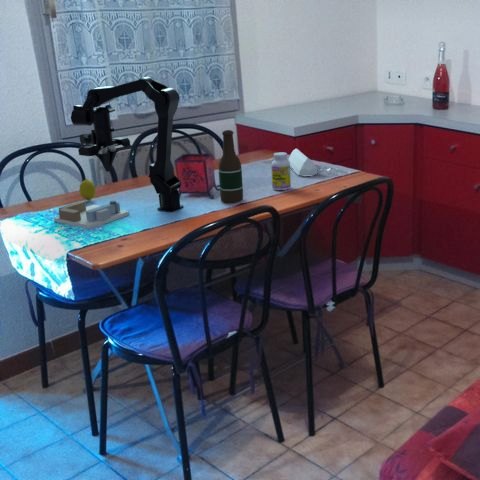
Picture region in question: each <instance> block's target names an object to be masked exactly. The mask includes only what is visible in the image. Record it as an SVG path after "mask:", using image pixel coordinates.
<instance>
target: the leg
mask: <svg viewBox="0 0 480 480" xmlns="http://www.w3.org/2000/svg"><path fill="white" fill-rule="evenodd" d="M99 206H100V207H97V208H94V209H91V210H88V211H86V217H87V220H88V221H94V220H96V213H95V212H96V211H99V210H102V209H109V212H110V215H112V214H115V213H118V212H120V210H121V205H120V202H119V201H116V200H111V201H110V202H109V203H107V204H103V205H99Z"/></svg>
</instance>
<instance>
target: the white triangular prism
mask: <svg viewBox="0 0 480 480" xmlns="http://www.w3.org/2000/svg"><path fill="white" fill-rule="evenodd" d="M291 151H292V152H291V153H290V155H289V156H288V158H287V160H288V161H289V162H290V166H291V167H292V168H293V169H294V170H293V169H292V168H291V167H290V168H291V169H292V170H293V172H294V173H295V174H296V175H297V176H299V175H313V174H316V175H318V174H317V173H318V168H317V167H316V165H315V163H314V162H313V161H312V160H311V159H310V158H309V157H308V156H306V155H305V154H304V153H303V152H301V150H300V149H298V148H295V149H293V150H291Z"/></svg>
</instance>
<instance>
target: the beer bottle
mask: <svg viewBox="0 0 480 480" xmlns="http://www.w3.org/2000/svg"><path fill="white" fill-rule="evenodd" d="M221 135H222V138H223V139H222V140H223V141H222V150H223V151H222V156H221V158H220V159H219V162H218V181H219V183H218V184H219V194H220V195H219V196H220V201H221V202H223V203H224V204H236V203H241V202H242V201H243V200H244V187H243V171H242V163H241V160H240V158H239V157H238V155H237V154H236V150H235V143H234V141H235V140H234V137H233V135H234V131H233V130H232V129H231V130H230V129H229V130H227V129H226V130H224V131H222V133H221ZM241 200H242V201H241Z"/></svg>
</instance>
